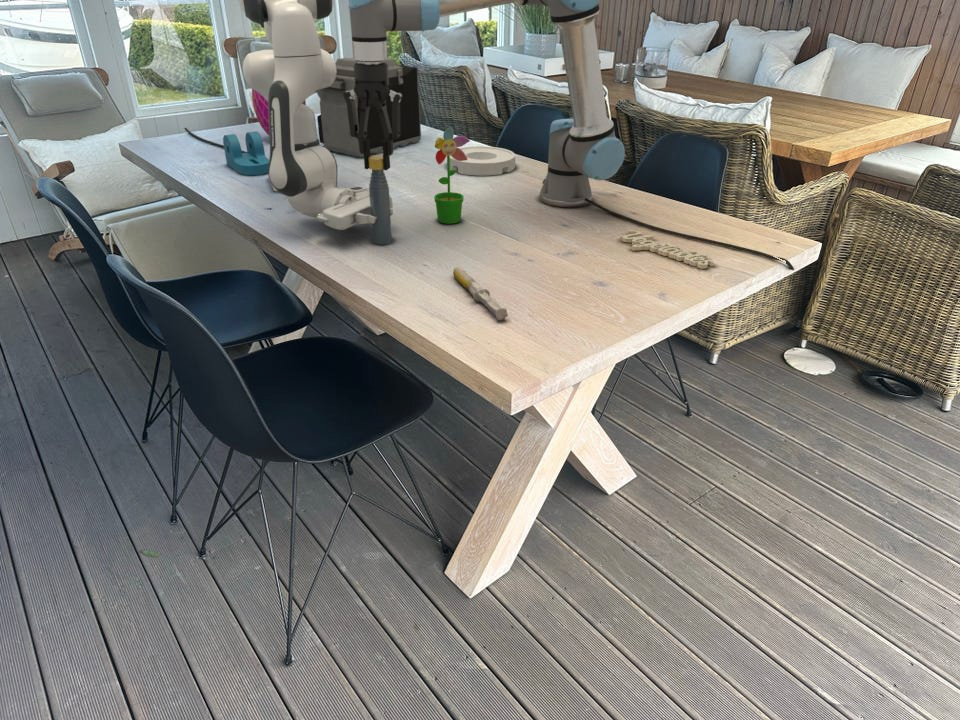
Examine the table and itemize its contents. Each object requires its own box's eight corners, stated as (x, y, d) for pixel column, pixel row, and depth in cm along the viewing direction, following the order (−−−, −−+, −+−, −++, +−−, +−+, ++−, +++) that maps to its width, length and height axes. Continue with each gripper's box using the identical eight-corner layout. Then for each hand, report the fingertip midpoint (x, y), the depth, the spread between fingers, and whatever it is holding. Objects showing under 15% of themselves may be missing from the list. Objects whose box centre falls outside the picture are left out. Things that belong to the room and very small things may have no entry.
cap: (389, 167, 163) (389, 157, 162) (376, 171, 161) (375, 160, 159) (378, 164, 166) (377, 154, 164) (365, 167, 163) (364, 157, 162)
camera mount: (227, 164, 233) (221, 132, 227) (257, 160, 238) (252, 129, 233) (244, 176, 220) (239, 143, 215) (276, 172, 225) (271, 139, 220)
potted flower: (440, 227, 182) (438, 129, 169) (428, 218, 188) (425, 123, 175) (472, 221, 185) (472, 126, 173) (459, 213, 191) (459, 120, 179)
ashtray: (449, 157, 245) (449, 145, 243) (514, 158, 244) (514, 146, 242) (444, 174, 225) (444, 162, 223) (515, 176, 224) (515, 164, 222)
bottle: (394, 238, 174) (389, 158, 164) (389, 245, 170) (384, 163, 160) (375, 237, 175) (370, 157, 165) (370, 244, 171) (364, 162, 161)
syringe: (449, 274, 155) (449, 263, 153) (465, 272, 156) (464, 260, 154) (490, 323, 135) (491, 310, 133) (508, 319, 136) (508, 307, 134)
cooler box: (383, 133, 276) (378, 52, 261) (425, 141, 265) (422, 56, 250) (314, 150, 251) (304, 61, 235) (358, 160, 240) (350, 67, 224)
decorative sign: (607, 237, 173) (632, 229, 179) (607, 241, 174) (631, 232, 180) (698, 269, 156) (722, 258, 162) (697, 273, 157) (721, 262, 163)
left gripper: (310, 204, 166) (354, 215, 160) (365, 184, 181) (407, 193, 175) (313, 229, 169) (356, 240, 163) (367, 208, 184) (408, 217, 178)
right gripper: (412, 61, 153) (416, 166, 165) (339, 58, 156) (348, 162, 168) (403, 65, 147) (407, 174, 159) (327, 62, 149) (337, 170, 161)
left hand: (383, 216), depth 169 cm, fingers closed on bottle, 5 cm apart
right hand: (377, 167), depth 163 cm, fingers closed on cap, 4 cm apart
